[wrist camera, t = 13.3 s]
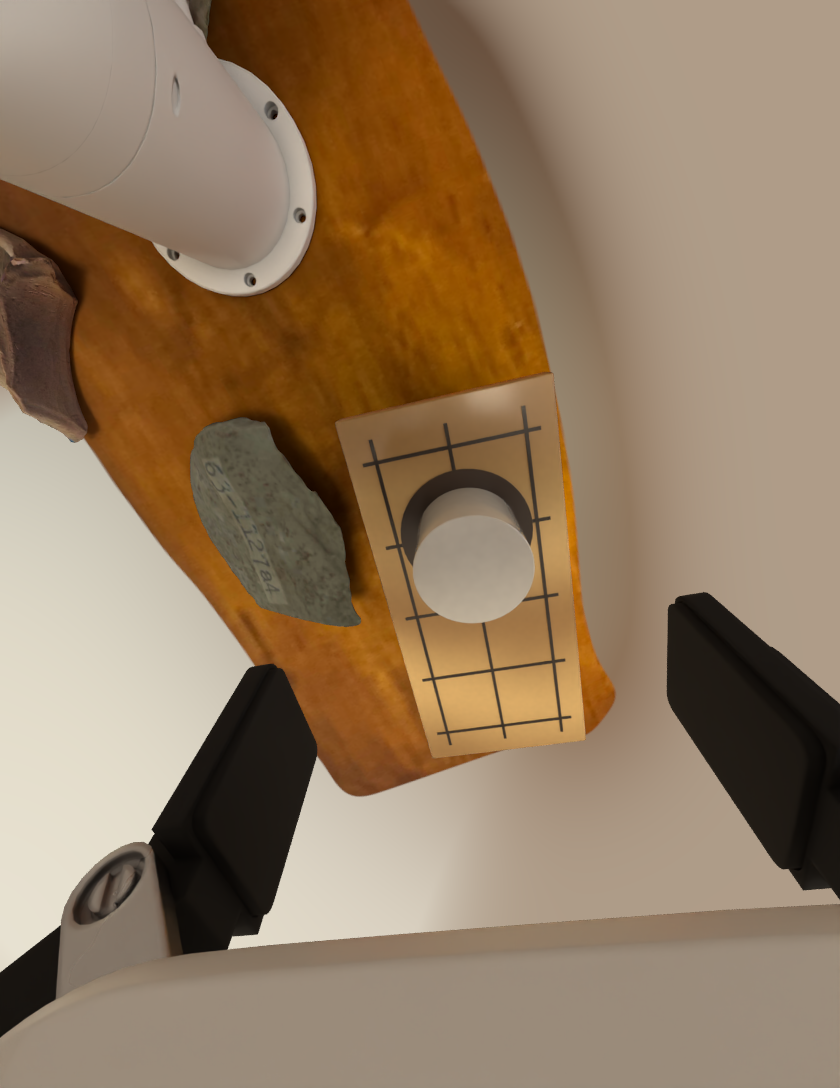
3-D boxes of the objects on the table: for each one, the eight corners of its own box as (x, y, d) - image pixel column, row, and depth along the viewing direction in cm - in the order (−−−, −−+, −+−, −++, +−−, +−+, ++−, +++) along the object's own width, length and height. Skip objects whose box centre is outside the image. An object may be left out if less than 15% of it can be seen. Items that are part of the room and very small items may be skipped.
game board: (385, 392, 34) (333, 422, 17) (496, 366, 33) (554, 372, 16) (435, 601, 42) (432, 760, 25) (526, 585, 40) (586, 742, 24)
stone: (138, 451, 35) (269, 399, 28) (179, 437, 38) (305, 388, 32) (249, 636, 42) (374, 628, 36) (275, 610, 46) (393, 599, 39)
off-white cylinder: (407, 498, 18) (399, 528, 15) (511, 477, 18) (527, 504, 15) (428, 587, 20) (426, 632, 17) (524, 571, 20) (541, 613, 16)
